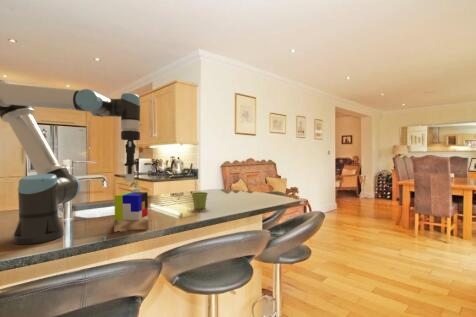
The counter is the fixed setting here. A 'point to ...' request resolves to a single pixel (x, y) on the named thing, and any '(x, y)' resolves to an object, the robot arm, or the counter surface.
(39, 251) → the counter surface
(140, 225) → the plinth
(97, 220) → the counter surface
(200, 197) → the plant pot
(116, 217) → the puzzle toy
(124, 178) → the flower in vase
